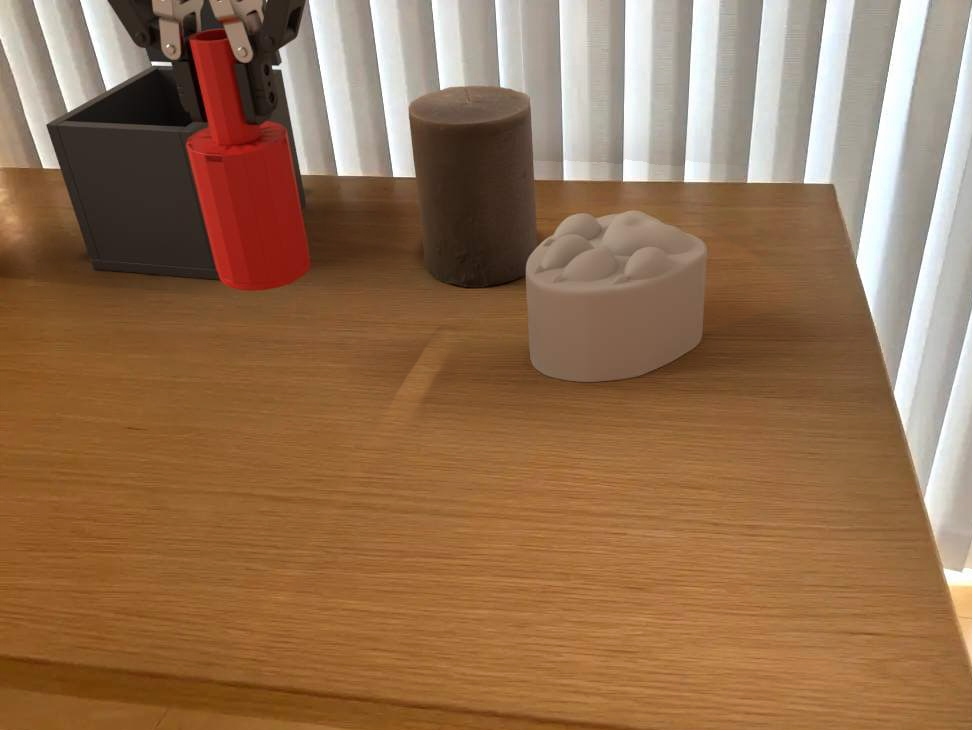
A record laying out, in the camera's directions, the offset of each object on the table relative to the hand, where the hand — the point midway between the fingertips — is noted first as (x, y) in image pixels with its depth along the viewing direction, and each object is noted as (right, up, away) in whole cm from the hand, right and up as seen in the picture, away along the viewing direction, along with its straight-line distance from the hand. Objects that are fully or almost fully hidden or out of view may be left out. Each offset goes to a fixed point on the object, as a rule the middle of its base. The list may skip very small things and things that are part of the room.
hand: (232, 118), depth 60 cm
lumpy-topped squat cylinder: (+24, -13, +15) cm, 30 cm away
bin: (-12, -2, +33) cm, 35 cm away
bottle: (0, -8, +6) cm, 10 cm away
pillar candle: (+14, -5, +26) cm, 30 cm away
